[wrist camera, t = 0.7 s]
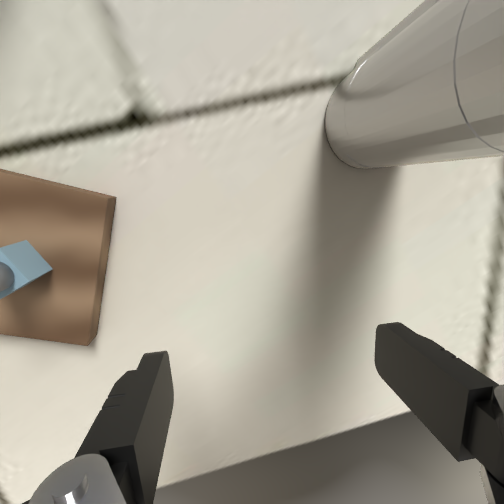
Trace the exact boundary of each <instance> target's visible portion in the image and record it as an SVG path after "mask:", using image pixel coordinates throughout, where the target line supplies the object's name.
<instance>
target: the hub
mask: <svg viewBox="0 0 504 504" xmlns="http://www.w3.org/2000/svg"><path fill="white" fill-rule="evenodd" d="M51 270H52V267H51V266H50V265H49V264H48V263H47V262H46V261H45V260H44V259H43V257H42V256H41V255H40V254H39V253H38V252H37V251H36V250H35V249H34V248H33V246H32V245H31V244H30V243H29V242H28V241H27V240H24V241H21V242H17V243H14V244H11V245H7V246H4V247H1V248H0V299H2V298H4V297H6V296H7V295H9V294H11V293H13V292H15V291H17V290H19V289H20V288H22V287H24V286H26V285H27V284H29V283H31V282H32V281H34V280H36V279H37V278H39V277H41V276H42V275H44V274H46V273H47V272H49V271H51Z"/></svg>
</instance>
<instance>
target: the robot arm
mask: <svg viewBox="0 0 504 504" xmlns="http://www.w3.org/2000/svg"><path fill="white" fill-rule="evenodd" d="M325 126H326V134H327V138H328V142H329V144H330V146H331V148H332V150H333V151H334V153H335V154H336V155H337V156H338V158H339V159H341V160H342V161H343V162H345V163H346V164H348V165H350V166H352V167H356V168H361V169H365V168H383V167H389V166H401V165H412V164H422V163H433V162H443V161H454V160H464V159H475V158H485V157H496V156H504V0H425V1H424V2H423V3H422V4H420V5H419V6H418V7H417V8H416V9H415V10H414V11H412V12H411V13H410V14H409V15H408V16H407V17H406V18H404V19H403V20H402V21H401V22H400V23H399V24H398V25H396V26H395V27H394V28H393V29H392V30H391V31H390V32H389V33H387V34H386V35H385V36H384V37H383V38H382V39H381V40H379V41H378V42H377V43H376V44H375V45H374V46H373V47H371V48H370V49H369V50H368V51H367V52H366V53H365V54H363V55H362V56H361V57H360V58H359V59H358V60H357V63H356V66H355V68H354V70H353V71H352V72H351V73H350V74H349V75H348V76H347V77H345V78H344V79H343V80H342V81H341V82H340V84H339V85H338V86H337V87H336V89H335V90H334V92H333V94H332V96H331V98H330V100H329V103H328V107H327V110H326V118H325ZM375 366H376V369H377V371H378V373H379V375H380V376H381V378H382V379H383V380H384V381H385V382H386V383H387V384H388V385H389V387H390V388H391V389H392V390H393V391H394V392H395V393H396V394H397V395H398V396H399V397H400V399H401V400H402V401H403V402H404V403H405V404H406V405H407V406H408V407H409V408H410V410H411V411H412V412H413V413H414V414H415V415H416V416H417V417H418V418H419V419H420V420H421V421H422V423H423V424H424V425H425V426H426V427H427V428H428V429H429V430H430V431H431V433H432V434H433V435H434V436H435V437H436V438H437V439H438V440H439V441H440V442H441V443H442V445H443V446H444V447H445V448H446V449H447V450H448V451H449V452H450V453H451V454H452V456H453V457H454V458H455V459H456V460H457V461H458V462H459V461H464V460H468V459H474V458H476V459H477V460H478V461H479V462H480V463H481V468H480V475H481V480H482V483H483V487H484V490H485V494H486V498H487V501H488V504H504V385H499V384H497V383H496V382H494V381H493V380H491V379H490V378H488V377H486V376H485V375H483V374H482V373H480V372H479V371H477V370H476V369H474V368H473V367H471V366H470V365H468V364H467V363H465V362H464V361H462V360H461V359H459V358H456V356H455V355H453V354H452V353H450V352H449V351H447V350H446V351H445V349H444V348H443V347H441V346H440V345H438V344H437V343H435V342H434V341H432V340H430V339H428V338H426V337H423V336H421V335H419V334H416V333H415V332H413V331H412V330H411V329H409V328H408V327H406V326H405V325H403V324H402V323H400V322H395V323H387V324H380V325H378V326H377V329H376V341H375ZM173 401H174V391H173V383H172V376H171V369H170V362H169V355H168V352H167V351H161V352H153V353H145V354H144V355H143V357H142V359H141V361H140V363H139V365H138V368H137V370H131V371H127V372H126V373H125V374H124V375H123V376H122V377H121V378H120V379H119V380H118V381H117V382H116V383H115V384H114V386H113V388H112V390H111V392H110V393H109V395H108V399H106V401H105V403H104V404H103V406H102V410H100V412H99V414H98V415H97V417H96V419H95V421H94V423H93V425H92V426H91V428H90V430H89V432H88V434H87V436H86V437H85V439H84V441H83V443H82V445H81V447H80V448H79V450H78V452H77V454H76V456H75V458H74V459H72V460H70V461H68V462H66V463H64V464H63V465H61V466H60V467H58V468H57V469H56V470H55V471H53V472H52V473H51V474H50V475H49V476H48V477H47V478H46V479H45V480H44V481H43V482H42V483H41V484H40V485H39V487H38V488H37V490H36V491H35V492H34V494H33V496H32V497H31V499H30V500H28V501H26V502H24V503H22V504H153V500H154V496H155V491H156V486H157V481H158V476H159V472H160V467H161V462H162V457H163V452H164V448H165V443H166V438H167V433H168V428H169V424H170V419H171V414H172V409H173Z"/></svg>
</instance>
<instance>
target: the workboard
mask: <svg viewBox="0 0 504 504" xmlns="http://www.w3.org/2000/svg"><path fill="white" fill-rule="evenodd" d="M115 202H116V197H114V196H109V195H105V194H101V193H97V192H93V191H89V190H85V189H81V188H77V187H73V186H68V185H64V184H60V183H56V182H52V181H48V180H44V179H40V178H36V177H32V176H27V175H23V174H19V173H15V172H11V171H7V170H3V169H0V248H1V247H4V246H7V245H11V244H14V243H17V242H21V241H24V240H27V241H28V242H29V243H30V244H31V245H32V246H33V248H34V249H35V250H36V251H37V252H38V253H39V254H40V255H41V256H42V257H43V259H44V260H45V261H46V262H47V263H48V264H49V265H50V266H51V267H52V270H51V271H49V272H47V273H46V274H44V275H42V276H41V277H39V278H37V279H36V280H34V281H32V282H31V283H29V284H27V285H26V286H24V287H22V288H20V289H19V290H17V291H15V292H13V293H11V294H9V295H7V296H6V297H4V298H2V299H0V334H4V335H12V336H19V337H26V338H34V339H41V340H48V341H56V342H63V343H70V344H78V345H85V346H88V345H89V344H90V342H91V341H92V340H93V339H94V337H95V336H96V335H97V329H98V322H99V315H100V308H101V301H102V294H103V287H104V280H105V272H106V265H107V258H108V251H109V244H110V237H111V230H112V223H113V216H114V209H115Z"/></svg>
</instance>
